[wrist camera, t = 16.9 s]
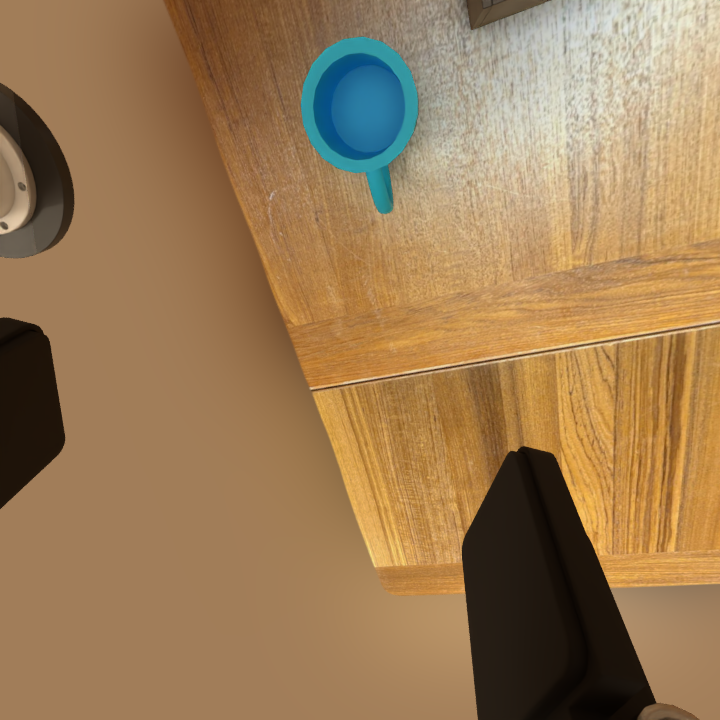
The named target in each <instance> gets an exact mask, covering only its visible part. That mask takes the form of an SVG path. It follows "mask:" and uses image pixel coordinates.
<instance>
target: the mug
mask: <svg viewBox="0 0 720 720" xmlns="http://www.w3.org/2000/svg"><path fill="white" fill-rule="evenodd" d="M301 110H302V118H303V126H304V128H305V130H306V133H307V135H308V137H309V140H310V142H311V144H312V145H313V147H314V148H315V149H316V150H317V152H318V153H319V154H320V155H321V157H322V158H323V159H324V160H326V161H328V162H329V163H331V164H332V165H334V166H335V167H337V168H338V169H342V170H345V171H349V172H353V173H361V172H366V176H367V180H368V183H369V187H370V190H371V194H372V197H373V200H374V203H375V206H376V208H377V210H378V211H379V212H380V213H383V214H387V213H390V212H391V211H392V210H393V193H392V186H391V179H390V173H389V168H388V164H389V163H390V162H391V161H393V160H394V159H395V158H396V157H397V156H398V155H399V154H400V153H401V152H402V151H403V150H404V148H405V146H406V144H407V143H408V141H409V139H410V138H411V136H412V134H413V132H414V130H415V126H416V122H417V118H418V94H417V90H416V87H415V84H414V80H413V77H412V74H411V71H410V70H409V68H408V67H407V65H406V64H405V62H404V61H403V60H402V58H401V57H400V55H399V54H398V53H397V52H395V51H394V50H393V49H391V48H390V47H389V46H387V45H386V44H384V43H383V42H381V41H378V40H374V39H370V38H366V37H356V38H348V39H343V40H341V41H339V42H337V43H335V44H334V45H332V46H330V47H328V48H326V49H325V50H324V52H323V53H322V54H321V55H320V56H319V57H318V58H317V59H316V61H315V62H314V63H313V64H312V66H311V68H310V70H309V73H308V75H307V77H306V80H305V82H304V85H303V92H302V99H301Z"/></svg>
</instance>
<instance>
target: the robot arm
mask: <svg viewBox="0 0 720 720" xmlns="http://www.w3.org/2000/svg"><path fill="white" fill-rule="evenodd" d="M36 197H37V195H36V184H35V181H34V177H33V173H32V170H31V168H30V166H29V163H28V161H27V159H26V157H25V155H24V154H23V152H22V150H21V149H20V147H19V146H18V144H17V143H16V142H15V140H14V139H13V138H12V137H11V135H10V134H9V133H8V132H7V131H6V130H5V129H4V128H3V127H2V126H1V125H0V234H6V233H10V232H14V231H16V230H18V229H21V228H22V227H23V226H25V225H26V224H27V223H28V222H29V220H30V219H31V217H32V216H33V213H34V210H35V207H36ZM64 443H65V433H64V427H63V421H62V414H61V408H60V403H59V396H58V390H57V384H56V378H55V371H54V365H53V359H52V353H51V346H50V341H49V339H48V337H47V336H46V335H44V333H43V331H42V330H41V328H40V327H39V326H37V325H35V324H31V323H27V322H23V321H19V320H15V319H11V318H0V509H1V508H2V507H3V506H4V505H5V504H6V503H7V502H8V501H9V500H10V499H12V498H13V497H14V496H15V495H16V494H17V493H18V492H19V491H20V490H21V489H22V488H23V487H24V486H25V485H27V484H28V483H29V482H30V481H31V480H32V479H33V478H34V477H35V476H36V475H37V474H38V473H39V472H40V471H41V470H42V469H44V467H46V466H47V465H48V464H49V463H50V462H51V461H52V460H53V459H54V458H55V457H56V456H57V455H58V454H59V453H60V452H61V450H62V448H63V446H64ZM462 562H463V572H464V582H465V593H466V603H467V612H468V623H469V633H470V643H471V654H472V664H473V674H474V684H475V694H476V704H477V715H478V720H699V719H698V718H697V717H695V716H694V715H693V714H691V713H689V712H687V711H685V710H683V709H680V708H678V707H676V706H674V705H668V704H662V703H656V701H655V698H654V696H653V693H652V691H651V689H650V686H649V683H648V681H647V679H646V676H645V674H644V671H643V669H642V666H641V664H640V661H639V659H638V657H637V654H636V651H635V649H634V646H633V644H632V642H631V639H630V637H629V634H628V632H627V629H626V627H625V624H624V622H623V620H622V617H621V614H620V612H619V609H618V607H617V605H616V602H615V600H614V597H613V595H612V592H611V590H610V587H609V585H608V582H607V580H606V577H605V575H604V572H603V570H602V568H601V565H600V563H599V560H598V558H597V555H596V553H595V550H594V548H593V545H592V543H591V541H590V539H589V538H588V536H587V535H586V532H585V530H584V527H583V525H582V522H581V520H580V517H579V515H578V512H577V510H576V507H575V505H574V502H573V500H572V497H571V495H570V492H569V490H568V487H567V485H566V482H565V480H564V477H563V475H562V472H561V470H560V467H559V465H558V462H557V460H556V458H555V456H554V455H553V454H552V453H549V452H545V451H541V450H537V449H533V448H529V447H525V446H523V447H521V448H519V449H518V451H517V452H515V451H510V452H509V453H508V454H507V456H506V458H505V460H504V462H503V464H502V466H501V468H500V469H499V471H498V473H497V475H496V477H495V479H494V481H493V483H492V485H491V487H490V489H489V491H488V493H487V495H486V497H485V499H484V500H483V502H482V504H481V506H480V508H479V510H478V512H477V514H476V516H475V518H474V520H473V522H472V524H471V526H470V528H469V530H468V531H467V533H466V535H465V538H464V541H463V545H462Z"/></svg>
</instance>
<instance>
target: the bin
mask: <svg viewBox="0 0 720 720" xmlns="http://www.w3.org/2000/svg"><path fill="white" fill-rule="evenodd" d="M548 1H550V0H467V7H468V14H469V20H470V27H471V30H473V29H476V28H479V27H481V26H484V25H487V24H489V23H492V22H495V21H497V20H500V19H502V18H505V17H508V16H510V15H513V14H516V13H518V12H521V11H524V10H526V9H529V8H532V7H534V6H537V5H540V4H542V3H545V2H548Z"/></svg>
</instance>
